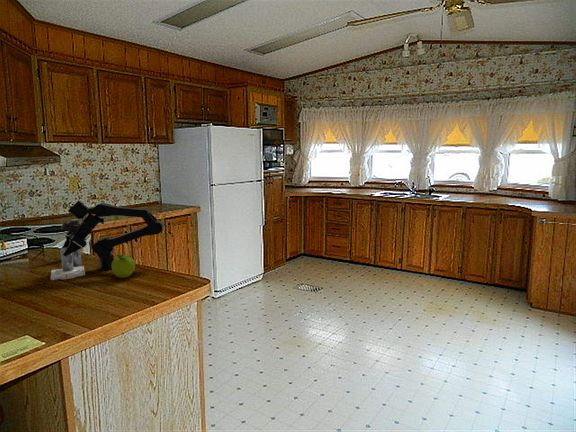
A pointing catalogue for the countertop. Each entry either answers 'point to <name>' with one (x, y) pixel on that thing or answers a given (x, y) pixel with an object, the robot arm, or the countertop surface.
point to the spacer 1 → (66, 260)
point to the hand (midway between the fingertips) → (62, 253)
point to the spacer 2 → (76, 258)
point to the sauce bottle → (77, 224)
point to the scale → (67, 273)
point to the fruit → (123, 266)
